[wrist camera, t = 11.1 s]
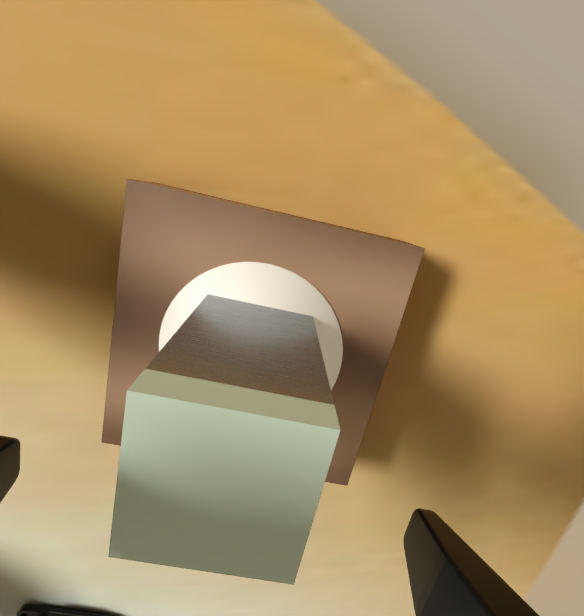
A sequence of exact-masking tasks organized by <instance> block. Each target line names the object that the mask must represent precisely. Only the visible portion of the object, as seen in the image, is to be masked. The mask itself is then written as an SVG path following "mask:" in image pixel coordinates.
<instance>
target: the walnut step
mask: <svg viewBox="0 0 584 616" xmlns="http://www.w3.org/2000/svg"><path fill="white" fill-rule="evenodd" d="M424 249H425V248H422V247H419V246H416V245H413V244H410V243H407V242H404V241H400V240H396V239H392V238H388V237H383V236H379V235H375V234H371V233H366V232H362V231H358V230H354V229H349V228H345V227H341V226H336V225H332V224H328V223H324V222H319V221H315V220H311V219H307V218H302V217H298V216H294V215H290V214H285V213H281V212H277V211H273V210H268V209H264V208H260V207H256V206H251V205H247V204H243V203H239V202H234V201H230V200H226V199H221V198H217V197H213V196H209V195H204V194H200V193H196V192H192V191H187V190H183V189H179V188H175V187H170V186H166V185H162V184H158V183H153V182H146V181H139V180H132V179H127V183H126V194H125V204H124V214H123V225H122V235H121V246H120V256H119V266H118V277H117V287H116V298H115V308H114V318H113V329H112V339H111V350H110V360H109V371H108V381H107V391H106V402H105V412H104V423H103V433H102V442H103V443H109V444H114V445H120V446H121V439H122V430H123V421H124V412H125V403H126V394H127V390H128V389H129V387H130V386H131V385H132V384H133V383H134V381H135V380H136V379H137V378H138V377H139V375H140V374H141V373H142V372H143V371H144V369H145V368H146V367H147V366H148V365H149V363H150V362H151V361H152V360H153V359H154V358H155V356H156V355H157V354H158V353H159V352H160V350H161V349H162V348H163V347H164V346H165V344H166V343H167V342H168V341H169V340H170V338H171V337H172V336H173V335H174V334H175V333H176V331H177V330H178V329H179V328H180V327H181V325H182V324H183V323H184V322H185V321H186V319H187V318H188V317H189V316H190V315H191V313H192V312H193V311H194V310H195V309H196V308H197V306H198V305H199V304H200V303H201V302H202V300H203V299H204V298H205V297H206V296H207V294H209V295H214V296H219V297H223V298H228V299H233V300H238V301H242V302H247V303H252V304H257V305H261V306H266V307H271V308H275V309H280V310H285V311H290V312H294V313H299V314H304V315H309V316H313V318H314V323H315V327H316V331H317V335H318V339H319V343H320V347H321V352H322V356H323V360H324V364H325V368H326V372H327V376H328V381H329V385H330V389H331V393H332V397H333V401H334V405H335V410H336V414H337V418H338V422H339V426H340V433H339V437H338V440H337V443H336V447H335V450H334V453H333V457H332V460H331V463H330V466H329V470H328V473H327V476H326V480H325V482H330V483H336V484H341V485H347V484H348V481H349V478H350V475H351V472H352V469H353V466H354V463H355V460H356V457H357V454H358V451H359V448H360V445H361V442H362V439H363V436H364V433H365V429H366V426H367V423H368V420H369V417H370V414H371V411H372V408H373V405H374V402H375V399H376V396H377V393H378V390H379V387H380V384H381V381H382V378H383V375H384V371H385V368H386V365H387V362H388V359H389V356H390V353H391V350H392V347H393V344H394V341H395V338H396V335H397V332H398V329H399V326H400V323H401V320H402V317H403V313H404V310H405V307H406V304H407V301H408V298H409V295H410V292H411V289H412V286H413V283H414V280H415V277H416V274H417V271H418V268H419V265H420V262H421V259H422V255H423V252H424Z"/></svg>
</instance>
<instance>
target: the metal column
mask: <svg viewBox="0 0 584 616" xmlns="http://www.w3.org/2000/svg"><path fill="white" fill-rule="evenodd" d="M339 433H340V426H339V422H338V418H337V414H336V410H335V405H334V401H333V397H332V393H331V389H330V385H329V381H328V376H327V372H326V368H325V364H324V360H323V356H322V352H321V347H320V343H319V339H318V335H317V331H316V327H315V323H314V318H313V316H309V315H304V314H299V313H294V312H290V311H285V310H280V309H275V308H271V307H266V306H261V305H257V304H252V303H247V302H242V301H238V300H233V299H228V298H223V297H219V296H214V295H209V294H207V296H206V297H205V298H204V299H203V300H202V302H201V303H200V304H199V305H198V306H197V308H196V309H195V310H194V311H193V312H192V313H191V315H190V316H189V317H188V318H187V319H186V321H185V322H184V323H183V324H182V325H181V327H180V328H179V329H178V330H177V331H176V333H175V334H174V335H173V336H172V337H171V338H170V340H169V341H168V342H167V343H166V344H165V346H164V347H163V348H162V349H161V350H160V352H159V353H158V354H157V355H156V356H155V358H154V359H153V360H152V361H151V362H150V363H149V365H148V366H147V367H146V368H145V369H144V371H143V372H142V373H141V374H140V375H139V377H138V378H137V379H136V380H135V381H134V383H133V384H132V385H131V386H130V387H129V389H128V390H127V394H126V403H125V412H124V421H123V430H122V439H121V448H120V457H119V466H118V475H117V484H116V493H115V502H114V511H113V520H112V529H111V538H110V547H109V556H108V557H113V558H120V559H127V560H133V561H140V562H147V563H153V564H160V565H166V566H173V567H180V568H186V569H193V570H200V571H206V572H213V573H220V574H226V575H233V576H239V577H246V578H253V579H259V580H266V581H273V582H279V583H286V584H293V585H294V582H295V579H296V575H297V572H298V569H299V565H300V562H301V559H302V556H303V552H304V549H305V546H306V542H307V539H308V536H309V532H310V529H311V526H312V523H313V519H314V516H315V513H316V509H317V506H318V503H319V499H320V496H321V493H322V490H323V486H324V483H325V480H326V476H327V473H328V470H329V466H330V463H331V460H332V457H333V453H334V450H335V447H336V443H337V440H338V437H339Z"/></svg>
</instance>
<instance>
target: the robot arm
mask: <svg viewBox="0 0 584 616" xmlns="http://www.w3.org/2000/svg"><path fill="white" fill-rule="evenodd" d="M19 471H20V442H19V440H18V439H16V438H12V437H6V436H0V502H1V501H2V500H3V498H4V497H5V495H6V494H7V492H8V491H9V490H10V488H11V487H12V485H13V484H14V482H15V481H16V479H17V477H18V474H19ZM404 550H405V556H406V562H407V568H408V573H409V579H410V585H411V591H412V597H413V603H414V609H415V614H416V616H539V615H538V614H537V613H536V612H535V611H534V610H533V609H532V608H531V607H530V606H529V605H528V604H527V603H526V602H525V601H524V600H523V599H522V598H521V597H520V596H519V595H518V594H517V593H516V592H515V591H514V590H513V589H512V588H511V587H510V586H509V585H508V584H507V583H506V582H505V581H504V580H503V579H502V578H501V577H500V576H499V575H498V574H497V573H496V572H495V571H494V570H493V569H492V568H491V567H490V566H489V565H488V564H487V563H486V562H485V561H483V560H482V559H481V558H480V557H479V556H478V555H477V554H476V553H475V552H474V551H473V550H472V549H471V548H470V547H469V546H468V545H467V544H466V543H465V542H464V541H463V540H462V539H461V538H460V537H459V536H458V535H457V534H456V533H455V532H454V531H453V530H452V529H451V528H450V527H449V526H448V525H447V524H446V523H445V522H444V521H443V520H442V519H441V518H440V517H439V516H438V515H437V514H436V513H435V512H433V511H431V510H425V509H416V510H415V511H414V512H413V514H412V517H411V519H410V522H409V524H408V527H407V529H406V532H405V535H404ZM17 616H111V615H104V614H97V613H90V612H83V611H75V610H68V609H61V608H54V607H47V606H40V605H32V604H24V605H23V606H21V608H20V610H19V611H18V613H17Z"/></svg>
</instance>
